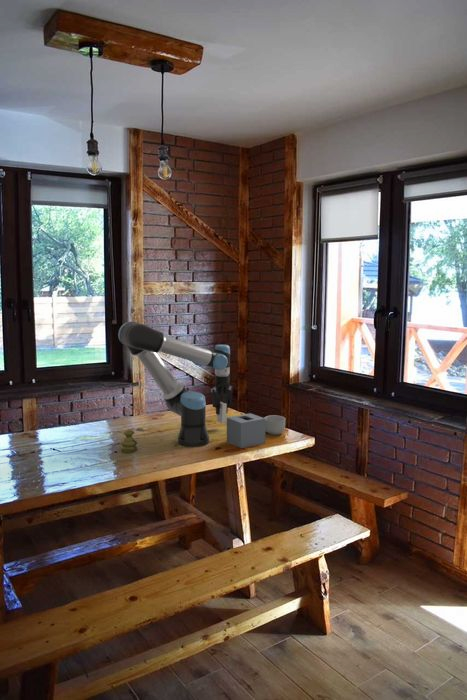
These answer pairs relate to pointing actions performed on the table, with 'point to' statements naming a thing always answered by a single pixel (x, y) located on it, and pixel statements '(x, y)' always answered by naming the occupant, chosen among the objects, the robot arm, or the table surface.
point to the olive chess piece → (129, 442)
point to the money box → (245, 430)
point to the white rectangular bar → (223, 412)
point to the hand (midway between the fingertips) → (221, 420)
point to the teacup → (274, 424)
